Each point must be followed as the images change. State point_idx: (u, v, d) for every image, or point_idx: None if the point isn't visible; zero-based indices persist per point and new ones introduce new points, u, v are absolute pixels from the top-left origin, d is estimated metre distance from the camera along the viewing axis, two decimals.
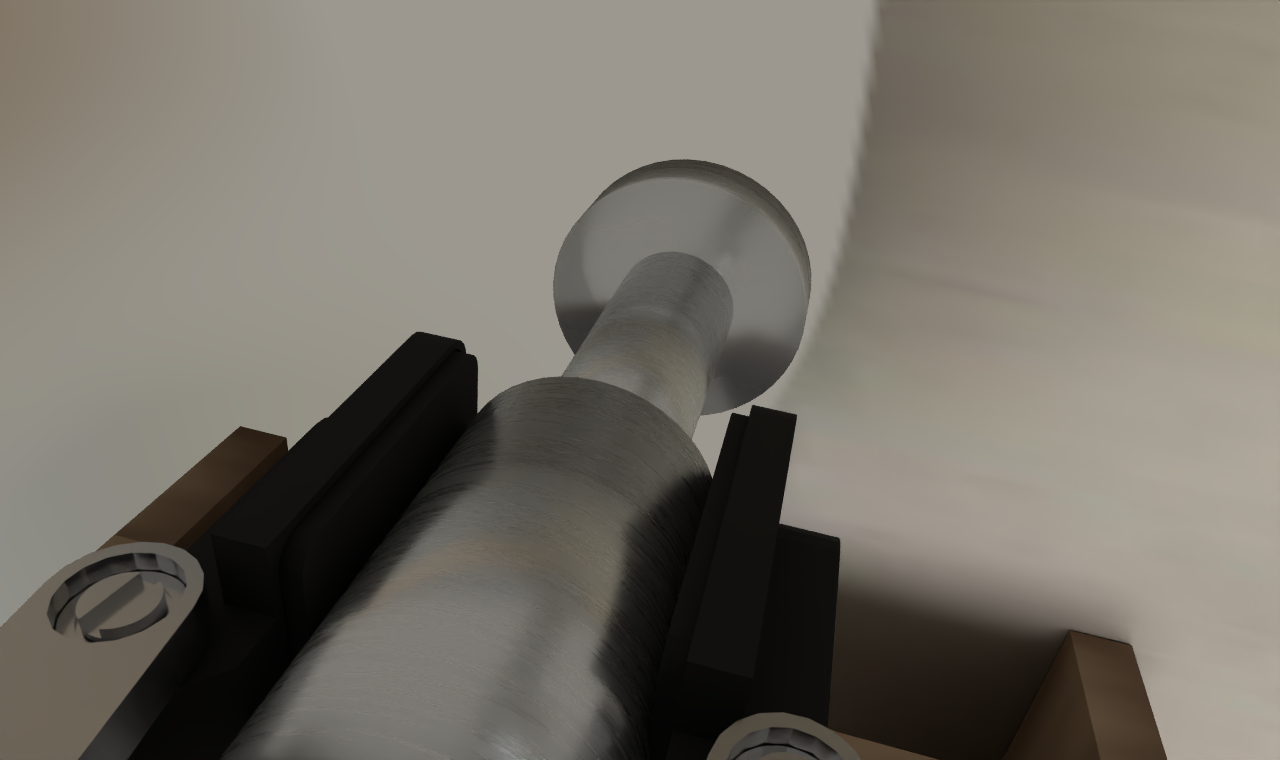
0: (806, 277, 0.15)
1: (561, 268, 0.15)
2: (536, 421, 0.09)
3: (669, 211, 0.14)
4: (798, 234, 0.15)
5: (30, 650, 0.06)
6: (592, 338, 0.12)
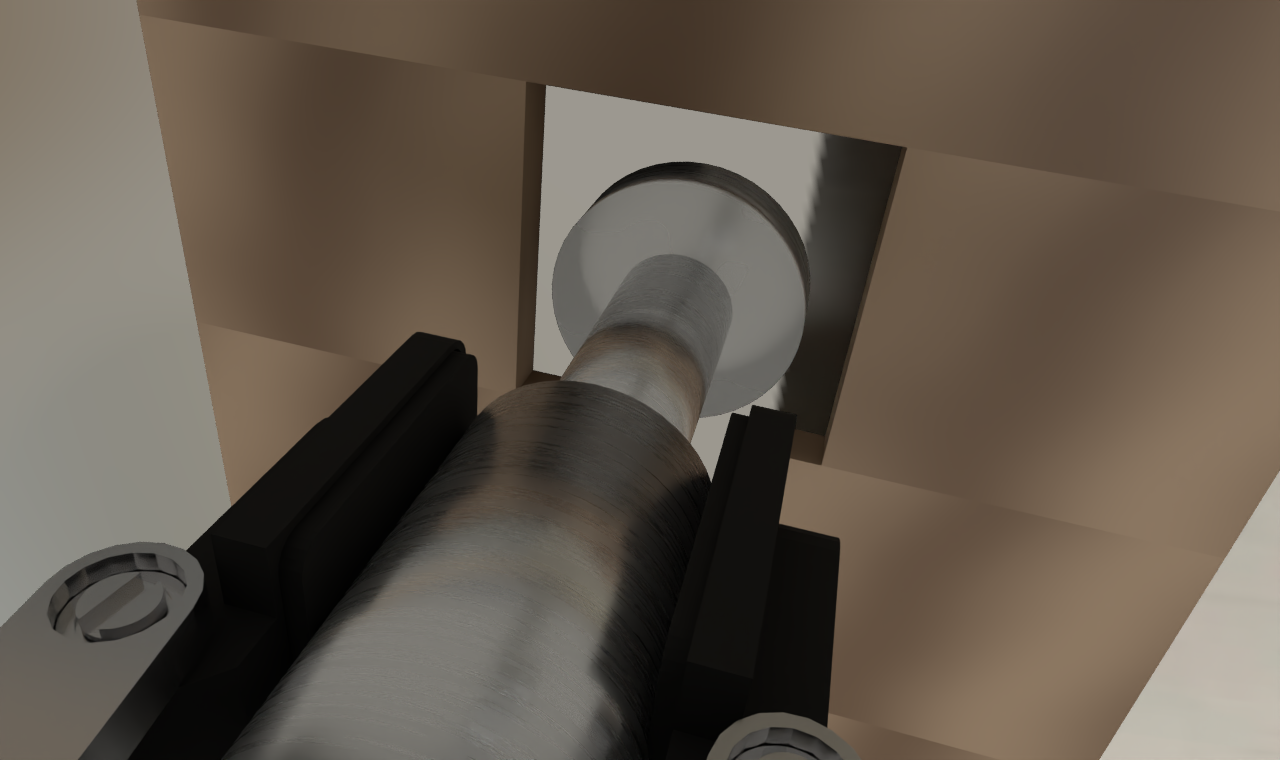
0: (805, 279, 0.15)
1: (560, 270, 0.15)
2: (534, 425, 0.09)
3: (668, 213, 0.14)
4: (797, 236, 0.15)
5: (31, 650, 0.06)
6: (591, 341, 0.12)
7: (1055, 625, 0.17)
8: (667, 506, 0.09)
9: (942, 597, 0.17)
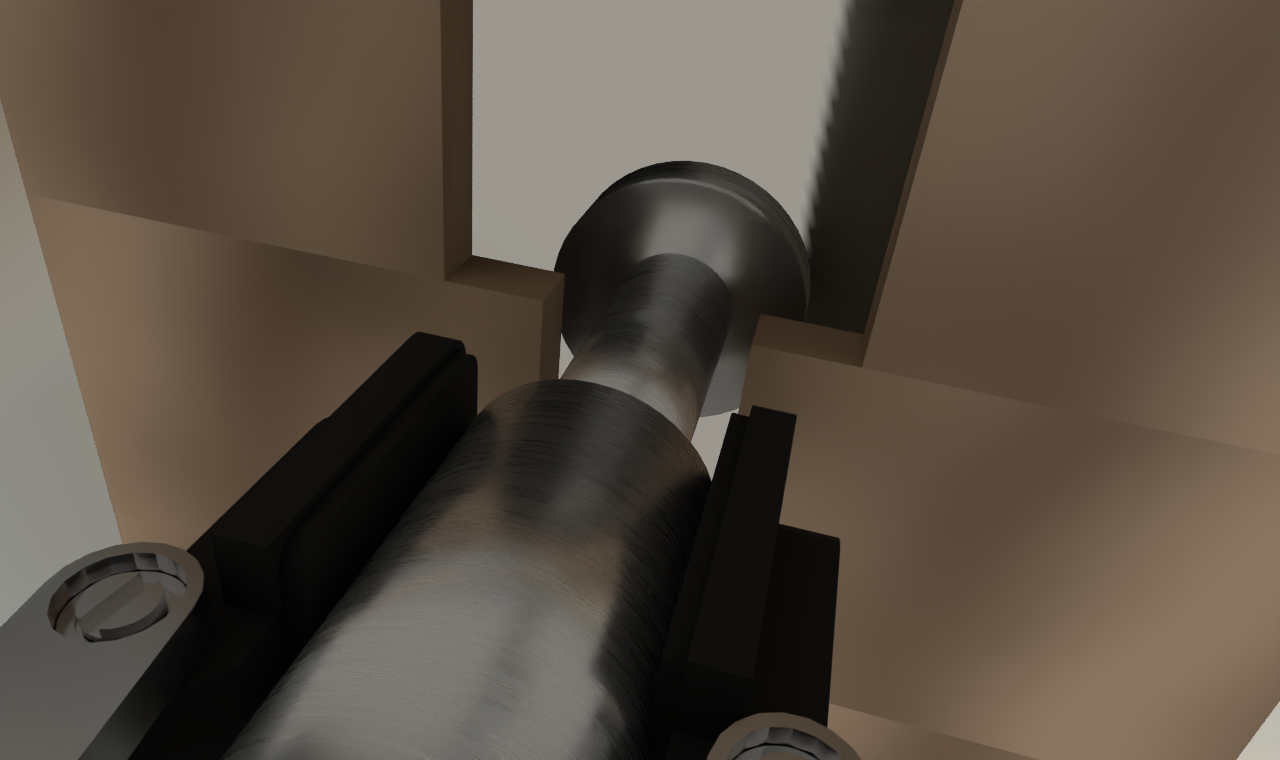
0: (805, 278, 0.15)
1: (560, 270, 0.15)
2: (535, 424, 0.09)
3: (668, 213, 0.14)
4: (797, 235, 0.15)
5: (30, 650, 0.06)
6: (591, 340, 0.12)
7: (1179, 589, 0.12)
8: (667, 505, 0.09)
9: (1023, 553, 0.13)
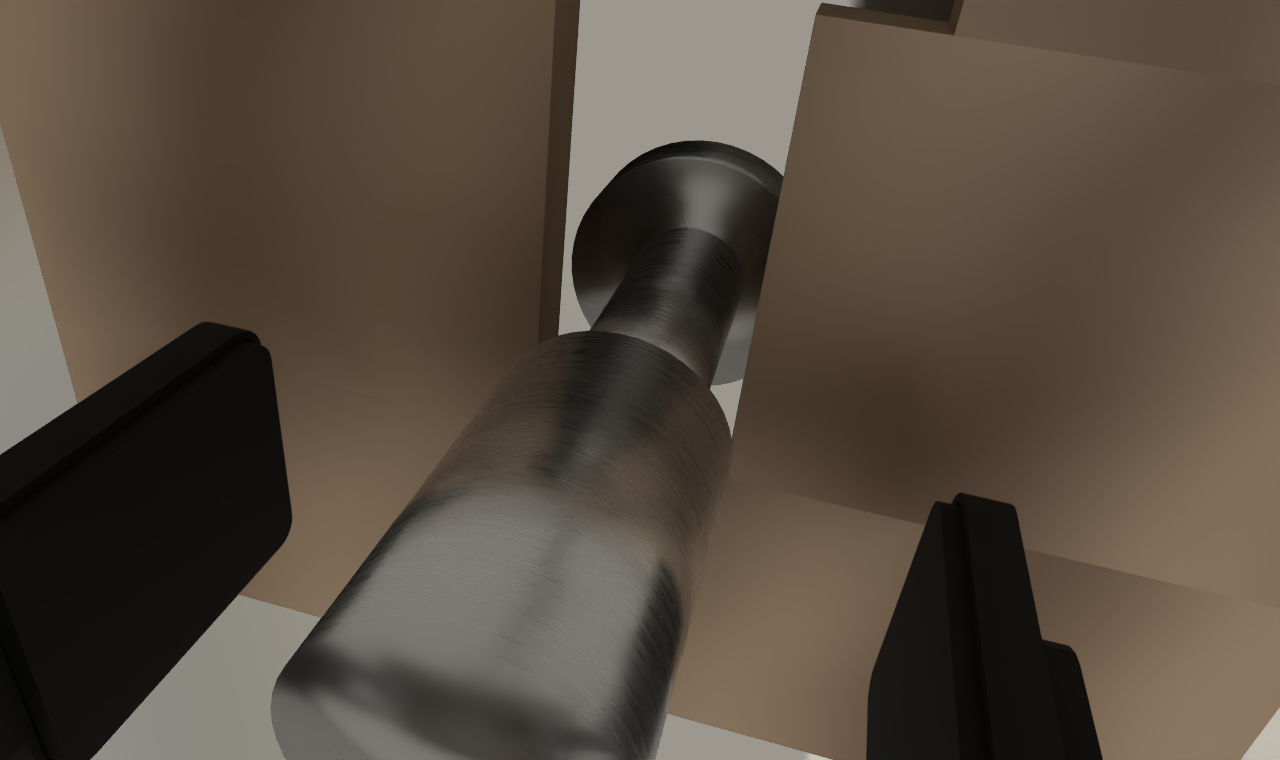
0: None
1: (579, 244, 0.16)
2: (568, 368, 0.10)
3: (683, 188, 0.15)
4: None
5: None
6: (613, 304, 0.13)
7: None
8: (690, 441, 0.10)
9: (1144, 290, 0.10)
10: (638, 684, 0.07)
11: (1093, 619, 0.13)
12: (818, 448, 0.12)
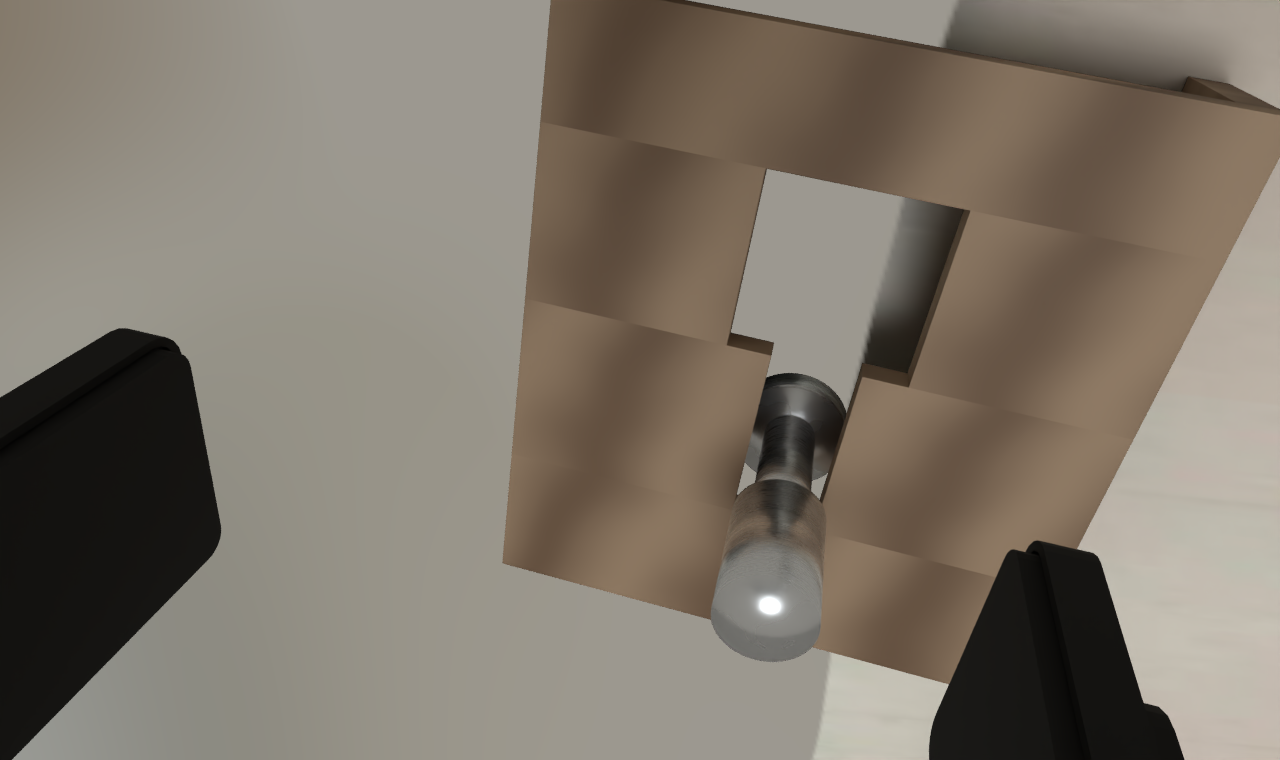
0: None
1: None
2: (775, 495, 0.28)
3: (791, 399, 0.34)
4: (843, 406, 0.35)
5: None
6: (769, 458, 0.32)
7: (1039, 485, 0.29)
8: (818, 522, 0.28)
9: (974, 469, 0.29)
10: (818, 595, 0.26)
11: (962, 591, 0.32)
12: (854, 520, 0.31)
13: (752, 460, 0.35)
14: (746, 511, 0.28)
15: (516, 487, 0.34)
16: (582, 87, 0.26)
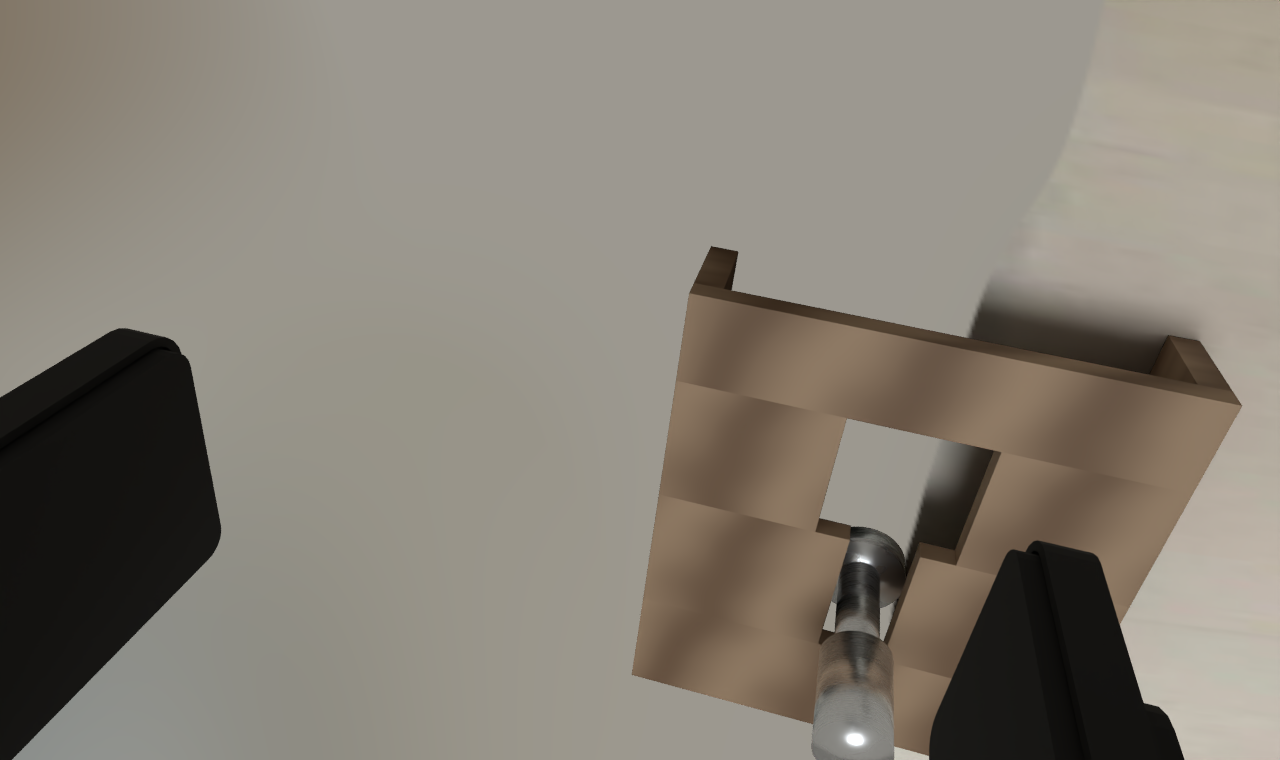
0: None
1: None
2: (855, 646, 0.38)
3: (860, 550, 0.43)
4: (901, 552, 0.44)
5: None
6: (846, 604, 0.41)
7: None
8: (888, 666, 0.37)
9: None
10: (892, 732, 0.35)
11: None
12: (913, 654, 0.40)
13: None
14: (833, 659, 0.38)
15: (645, 622, 0.43)
16: (709, 360, 0.35)
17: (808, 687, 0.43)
